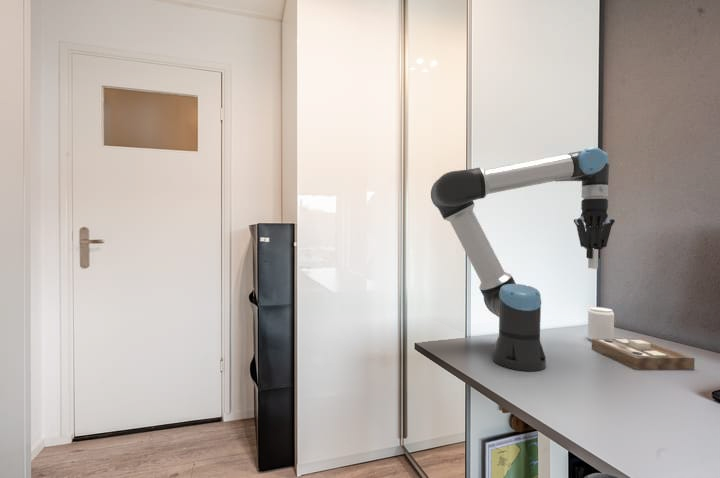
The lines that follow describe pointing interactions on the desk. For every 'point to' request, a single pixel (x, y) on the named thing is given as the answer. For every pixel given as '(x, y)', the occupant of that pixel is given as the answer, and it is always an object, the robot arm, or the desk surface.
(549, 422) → the desk surface
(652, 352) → the button right
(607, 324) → the white cylindrical container
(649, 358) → the board
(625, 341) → the button left
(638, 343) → the button mid
